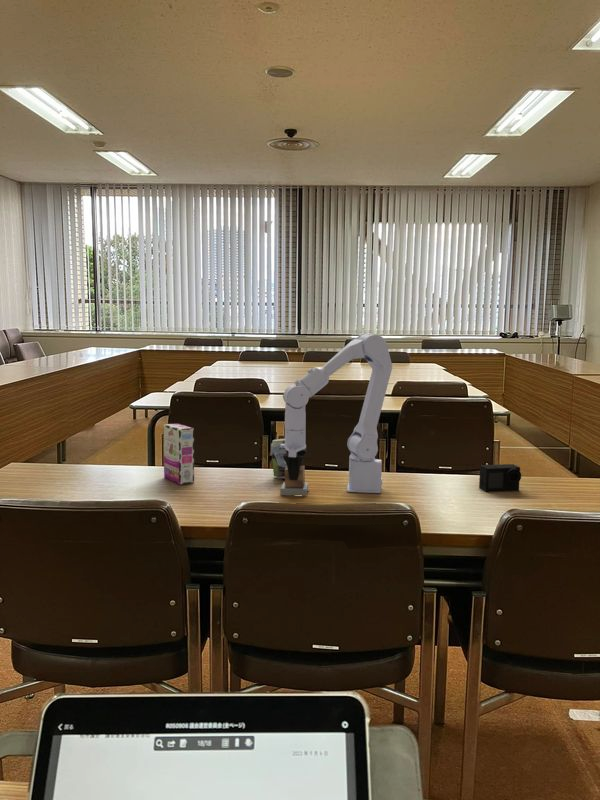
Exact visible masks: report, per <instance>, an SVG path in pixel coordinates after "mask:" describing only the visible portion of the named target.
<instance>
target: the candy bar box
mask: <svg viewBox="0 0 600 800" xmlns="http://www.w3.org/2000/svg"><path fill="white" fill-rule="evenodd" d="M163 477H164V478H165V479H167V480H169V481H170V482H171V481H172V482H173V483H176V484H177V485H180V486H181V485H188V484H193V483H195V428H194V427H190V426H187V425H184V424H181V423H168V424H167V423H166V424H163Z"/></svg>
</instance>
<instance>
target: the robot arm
mask: <svg viewBox="0 0 600 800" xmlns="http://www.w3.org/2000/svg"><path fill="white" fill-rule="evenodd" d="M389 350H390V346H389V344H388V342H387V341H386V340H385V339H384V337H383V336H381V335H379V334H369V333H360V334H359V335H358V336H357V337H356V338H354V339H352V340H351V341H349V343H347V344H346V345H345V346H344V347H343V348H342V349H341V350H340V351H338V352H337V353H335V355H334V356H333V357H331V359H329V360H328V361H327V362H326V363H325V364H323V365H322V367H320V366H314V367H313V368H312V367H310V368H308V369H307V373H305V375H303V376H302V377H301V378H300V379H299V380H298V379H296V380H295V381H294V382H293V383H294V384H291V385H288V386H287V387H286V388H285V390H284V393H283V395H282V399H283V401H284V403H285V411H284V439H285V444H281V447H283V448H285V449H286V452H287V454H284V455H283V458H284V460H285V462H286V465H287V468H288V473H289V478H290V480H298V476H299V470H300V466H303V465H302V464H303V461H304V457H305V455H306V452H307V444H306V440H307V439H306V434H307V433H306V423H307V421H306V418H307V417H306V415H307V413H306V405H307V404H308V402H309V399H310V398H312V397H313V396H315V394H317V393H318V392H319V391H320V390H322V389H323V388H324V387H326V385H328V384H329V380H330V376H332V375H333V374H334V373H336V372H337V371H339V370H340V369H342V368H343V367H344V366H345V365H347V364H348V363H349V362H351V361H352V360H355V359H356V360H357V359H358V360H359V359H365V360H366V361H367V363H368V365H369V366H370V367H371V372H370V373H371V374H370V378H369V382H368V385H367V389H366V392H365V397H364V401H363V404H362V407H361V411H360V416H359V420H358V423H357V424H356V426H354V428H353V431H352V433H351V435H350V436H349V437H348V438H347V445H346V446H347V448H348V450H349V452H350V455H348V456H349V458H348V459H349V461H348V464H349V465H348V483H347V489H346V492H347V493H370V494H381V493H382V486H383V478H382V475H383V474H382V470H383V469H382V467H383V463H382V462H383V461H382V459H378V458H375V457H376V456H377V455H378V452H379V447H378V446H379V445H378V439H379V434H378V429H377V427H378V424H379V420H380V416H381V412H382V408H383V405H384V400H385V396H386V392H387V389H388V385H389V383H390V382H389V381H390V377H391V374H392V371H393V364H392V359H391V355H390V351H389Z"/></svg>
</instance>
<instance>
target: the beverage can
mask: <svg viewBox="0 0 600 800" xmlns="http://www.w3.org/2000/svg"><path fill="white" fill-rule="evenodd" d="M281 444H285V438H279V439H273V440H272V442H271V444H270V449H271V450H270V451H271V452H270V453H271V460H272V471H273V472H272V473H273V477H275V478H276V479H285V468H286V466H287V465H286V462H285V460H284V458H283V455H284V454H287V452H286V449H285V448H283V447H281Z"/></svg>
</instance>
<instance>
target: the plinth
mask: <svg viewBox="0 0 600 800" xmlns="http://www.w3.org/2000/svg"><path fill="white" fill-rule="evenodd" d="M307 491H309V482H305V484H304V486H303V488H295V487H285V481H283V483H282V485H281V488H280V496H281V495H302V496H301V497H303V496H306V497H307V495H306V494H308V492H307Z"/></svg>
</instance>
